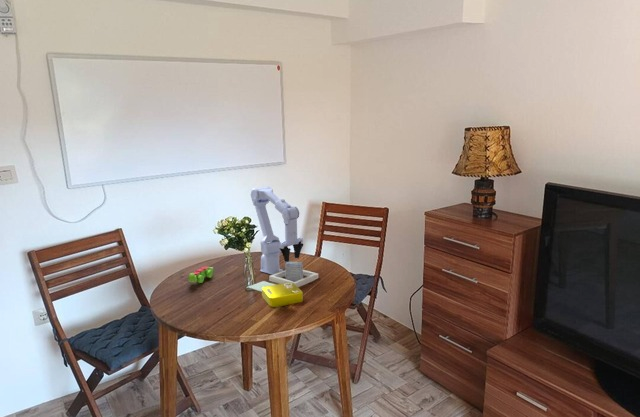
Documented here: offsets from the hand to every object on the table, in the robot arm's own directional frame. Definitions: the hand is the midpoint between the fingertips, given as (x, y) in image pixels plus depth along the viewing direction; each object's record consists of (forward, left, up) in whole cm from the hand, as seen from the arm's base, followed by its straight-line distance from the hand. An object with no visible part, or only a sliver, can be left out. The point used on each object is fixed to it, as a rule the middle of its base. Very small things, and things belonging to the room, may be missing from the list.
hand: (291, 259), depth 209 cm
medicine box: (0, +1, -11) cm, 11 cm away
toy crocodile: (-37, -26, -11) cm, 47 cm away
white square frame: (0, +1, -10) cm, 10 cm away
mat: (-5, -15, -10) cm, 19 cm away
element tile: (+12, -20, -11) cm, 25 cm away
